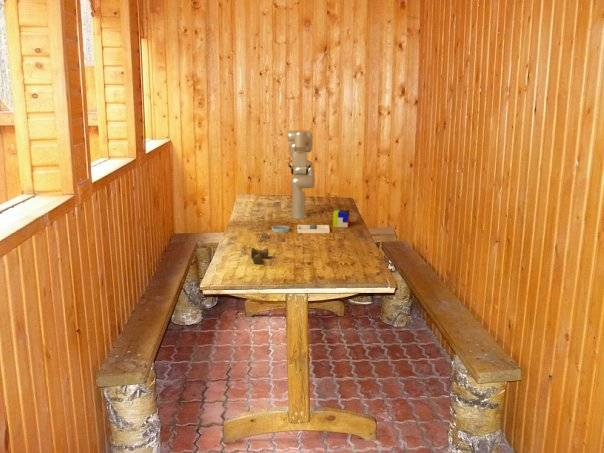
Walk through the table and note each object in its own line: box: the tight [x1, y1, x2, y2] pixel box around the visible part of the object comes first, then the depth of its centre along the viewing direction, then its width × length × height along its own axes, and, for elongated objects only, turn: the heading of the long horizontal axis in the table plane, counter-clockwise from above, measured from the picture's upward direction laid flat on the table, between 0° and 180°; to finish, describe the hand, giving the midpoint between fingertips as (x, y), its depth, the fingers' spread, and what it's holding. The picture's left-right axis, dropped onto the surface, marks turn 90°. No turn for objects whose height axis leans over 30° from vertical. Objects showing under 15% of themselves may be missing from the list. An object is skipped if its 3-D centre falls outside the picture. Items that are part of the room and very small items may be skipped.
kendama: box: [250, 247, 269, 265], centre depth 329 cm, size 6×10×20 cm
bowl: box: [271, 225, 291, 234], centre depth 398 cm, size 12×12×2 cm
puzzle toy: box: [332, 209, 350, 228], centre depth 414 cm, size 10×10×10 cm
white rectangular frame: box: [297, 224, 330, 234], centre depth 398 cm, size 13×21×2 cm, turn 90°
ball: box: [309, 223, 318, 229], centre depth 397 cm, size 5×5×5 cm
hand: (299, 174), depth 407 cm, fingers open, 9 cm apart
